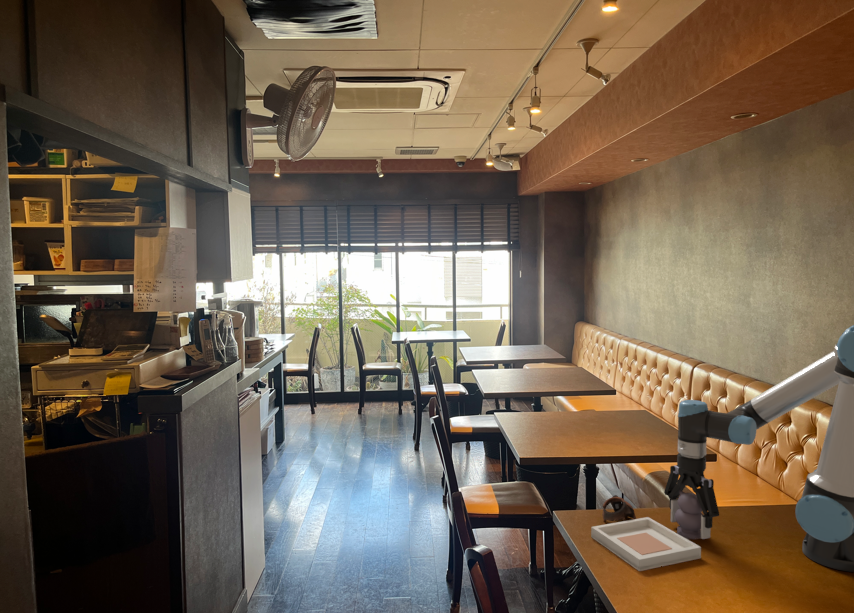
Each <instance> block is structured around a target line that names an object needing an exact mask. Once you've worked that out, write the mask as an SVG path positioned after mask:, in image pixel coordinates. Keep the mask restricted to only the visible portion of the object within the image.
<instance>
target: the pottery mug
mask: <svg viewBox="0 0 854 613" xmlns="http://www.w3.org/2000/svg"><path fill="white" fill-rule="evenodd" d="M609 505H611V507H612V508H613V511H614V512H612V511H611V512H610V511H607V509H606V508H607V506H609ZM627 517H628V518H630V519H632V520H634V519H637V517H636V514H635V510H634V508H633V506H632V505H631V504H630V503H629V502H628V501H626V500H625V499H624V498H622V497H620V496H618V495H616V494H615V495H612V497H609V498H607V499H606V500H605V501H604V503H603V504H602V519H603V521H604V522H605V521H609V522H615V521H616V522H617V521H620V520H623V521H626V518H627Z"/></svg>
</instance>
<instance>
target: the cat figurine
mask: <svg viewBox="0 0 854 613" xmlns="http://www.w3.org/2000/svg"><path fill="white" fill-rule="evenodd" d="M679 493H680V495H679V498H677V499H678V506H679V508H680V509H678V510H677V511H676V513H675V520H676V521H677V522H676V523H677V525H678V526H677V528H676V530H677V531H676V533H677V534H679V535H681V536H682V537H684V538H686V539H688V540H699V539H701V515H704V514H703V511H702V509H701V506H700V504H699V501H698V498H697V496H696V493H694V492H684V490H683V491H681V490H679Z"/></svg>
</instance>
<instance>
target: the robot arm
mask: <svg viewBox="0 0 854 613" xmlns="http://www.w3.org/2000/svg"><path fill="white" fill-rule="evenodd" d="M836 386H837V390H836V392H835V398H834V400H833V405H832V409H831V413H830V417H829V422H828V425H827V428H826V432H825V436H824V439H823V444H822V448H821V451H820V454H819V459H818V462H817V466H816V469H814V470H813V472H810V473H808V474H807V476H806V479H805V484H804V486H803V491H802V495H801V498H799V499H798V501H797V502H796V505H795V510H794V511H795V518H796V520H797V523H798V525H800V527H801V528H802V530H803V531H804V532H805V536H804V539H803V540H802V553H803V554H804V555H805V556H806V557H807V558H809V559H810V561H811V560H812V561H813V562H815V563H817V564H820V565H821V566H825V567H827V568H831V569H834V570H838V571H844V572H849V573H854V324H853V325H851V326H849V327H848V328H846V329H845V330H844V331H843V332H842V334H841V335H840V336H839V338H838V341H837V343H835V345H834V349H833V350H832V351H831V352H829V353H827V354H826V355H824V356H822V357H820V358H819V359H817V360H816V361H814V362H812V363H810V364H808V365H807V366H805V367H804V368H802V369H799V370H798V371H797V372H795V373H793V374H792V375H790V376H789V377H787V378H785V379H784V380H782V381H780V382H778V383H777V384H775V385H773V386H772V387H770V388H768V389H766V390H765V391H763V392H762V393H760V394H758V395H756V396H754V397H753V398H751V399H750V400H748V401H746V402H745V403H743V404H742V405H739V406H738V407H735V409H733V410H730V411H729V412H720V411H719V412H718V411H714V410H709V408H708V404H707V402H705V401H701V400H696V399H685V400H684V399H683V400H681V401H680V402H679V404H678V412H677V413H678V415H677V419H678V420H677V421H678V422H677V452H678V453H677V454H676V456H677V458H676V459H677V460H676V465H671V466H670V467H669V469H670V471H669V476H668V479H667V482H666V486H665V488H664V495H665V496H668V498H669V509H670V522H671V523H677V521H676V520H675V513H676V511H677V510H678V509H680V508H679V506H678V499H679V497H680V493H679V490H681V491H683V492H684V490H685V488H686V487H687V486H688V488H690V489H692V493H694V494H695V495H696V496H697V498H698V501H699V504H700V506H701V509H702V514H703V515H701V529H700V530H701V538H700V539H702V540H705V539H710V538H711V533H712V532H711V531H712V530H711V528H713V518H715V517H720V512H719V511H720V510H719V506H718V502H717V499H716V498H717V496H716V494H715V489H714V485H715V484H714V479H712V478H706V477H705V474H704V472H705V470H706V469H707V457H706V456H707V438H709V439H713V440H714V439H715V440H719V441H723V442H724V441H725V442H728V443H733V444H736V445H748V446H749V445H752V444H753V443H754V441H755V439H756V436H757V430H759V429H760V428H762V427H764V426H765V425H767V424H769V423H771V422H773V421H774V420H776V419H778V418H780V417H781V416H784V415H785V414H787V413H789V412H790V411H792V410H795V409H796V408H798V407H800V406H801V405H803V404H805V403H807V402H808V401H810V400H812V399H814V398H816V397H818V396H820V395H821V394H823V393H825V392H827V391H828V390H830V389H832V388H834V387H836Z"/></svg>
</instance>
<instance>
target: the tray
mask: <svg viewBox="0 0 854 613" xmlns="http://www.w3.org/2000/svg"><path fill="white" fill-rule="evenodd" d="M590 535H591V538H592V539H593V540H594V541H596V542H598V543H599V544H600V545H601V546H603V547H605V548H606V549H607V550H609V551H610V552H612V553H613V554H615V556H617V557H618V558H619V559H621V560H623V562H625V563H627V564H628V565H630V566H631V567H633V568H634V569H635V570H637V571H638V572H643V571H648V570H651V569H655V568H656V569H657V568H661V566H662V567H665V566H666V567H667V566H669V565H670V566H671V565H675V564H680V563H684V562H689V561H693V560H694V561H695V560H698V559H699V560H700V559H701V558H702V547H701V546H700V545H699V544H696V543H695V542H693V541H691V540H690V539H688V538H684V537H682V536H681V535H679V534H678V533H677V532H675V531H674V530H672V529H670V528H668V527H666V526H665V525H663V524H662V523H659V522H658V521H656V520H654V519H652V518H651V517H649V516H646V517H640V518H636V519H629V520H623V521H618V522H617V521H616V522H612V523H607V524H601V525H595V526H591V532H590Z"/></svg>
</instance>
